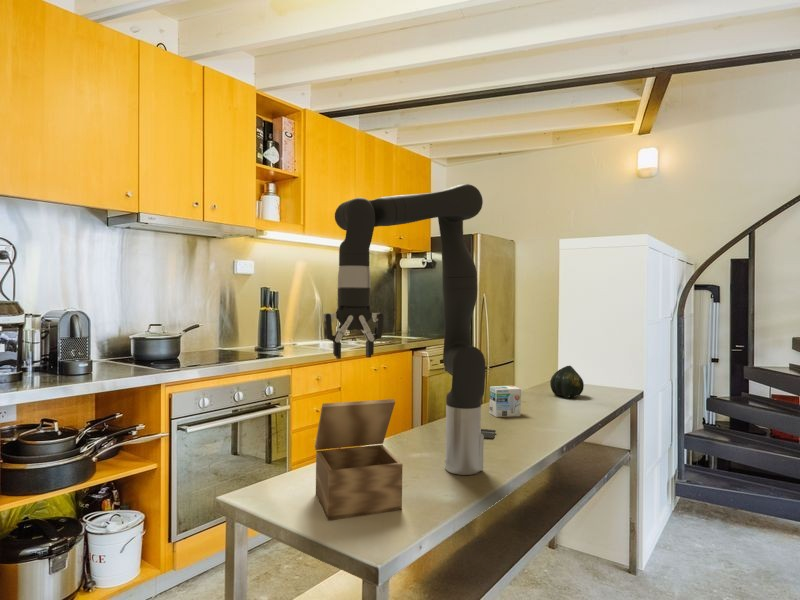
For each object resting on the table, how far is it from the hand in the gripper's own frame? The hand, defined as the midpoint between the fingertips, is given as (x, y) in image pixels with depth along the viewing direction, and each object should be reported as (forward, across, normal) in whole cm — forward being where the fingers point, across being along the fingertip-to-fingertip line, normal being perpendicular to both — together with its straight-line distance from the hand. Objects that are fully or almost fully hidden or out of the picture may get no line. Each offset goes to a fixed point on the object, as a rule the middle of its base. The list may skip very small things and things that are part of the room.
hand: (353, 357), depth 114 cm
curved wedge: (+33, -52, -34) cm, 70 cm away
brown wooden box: (+32, 0, +5) cm, 32 cm away
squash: (+32, -123, -77) cm, 149 cm away
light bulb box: (+32, -76, -55) cm, 99 cm away
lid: (+15, 0, +2) cm, 16 cm away
